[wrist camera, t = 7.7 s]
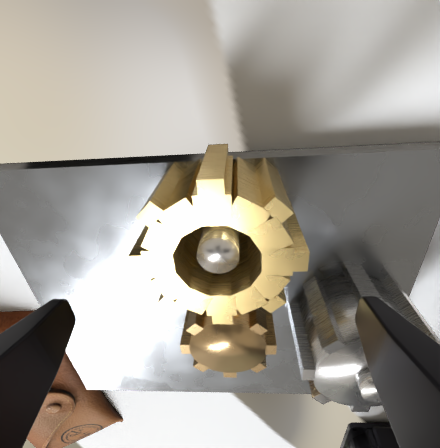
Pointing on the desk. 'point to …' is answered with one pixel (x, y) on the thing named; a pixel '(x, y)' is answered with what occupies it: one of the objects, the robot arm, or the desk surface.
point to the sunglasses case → (66, 404)
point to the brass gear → (220, 216)
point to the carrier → (227, 269)
